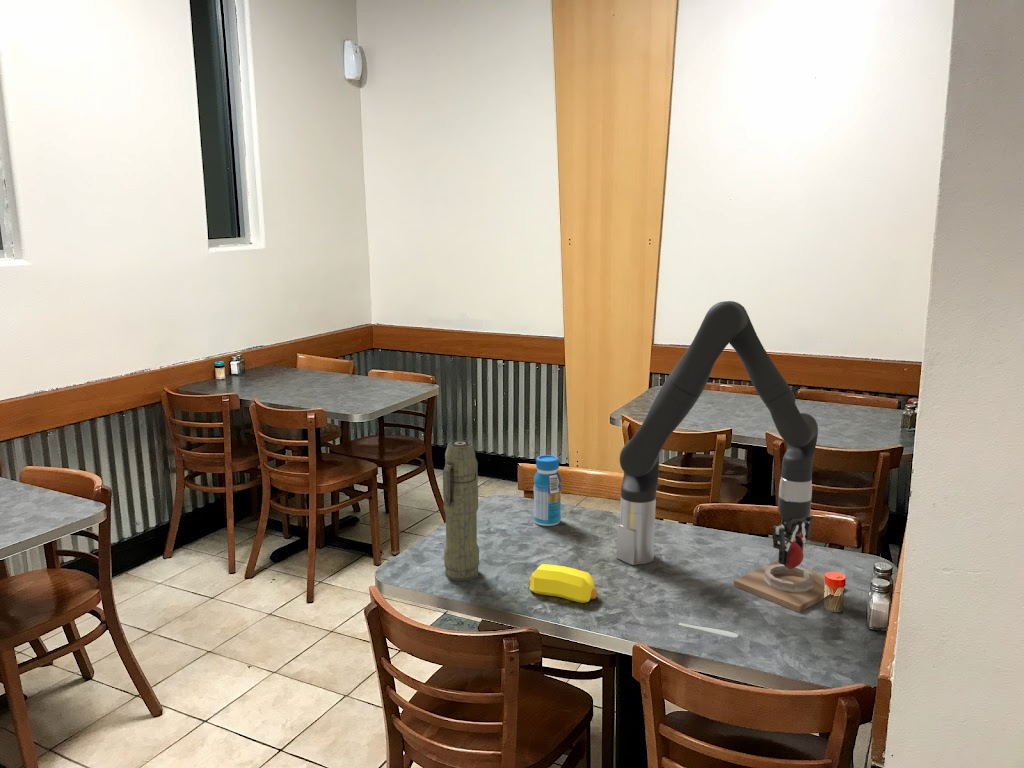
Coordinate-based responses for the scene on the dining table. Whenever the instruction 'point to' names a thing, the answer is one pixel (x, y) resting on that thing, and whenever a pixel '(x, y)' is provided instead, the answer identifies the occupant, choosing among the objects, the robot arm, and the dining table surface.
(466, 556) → the thermos
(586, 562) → the dining table surface
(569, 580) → the low-poly banana
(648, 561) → the robot arm
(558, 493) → the beverage bottle
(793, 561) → the onion
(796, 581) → the mount board
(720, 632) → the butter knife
